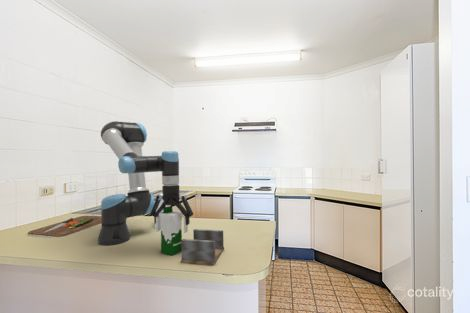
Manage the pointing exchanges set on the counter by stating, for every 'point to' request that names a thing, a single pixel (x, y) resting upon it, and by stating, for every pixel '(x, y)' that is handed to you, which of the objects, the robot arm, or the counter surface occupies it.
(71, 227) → the chopping board
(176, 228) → the soya milk
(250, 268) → the counter surface
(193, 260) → the carton caddy
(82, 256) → the counter surface
